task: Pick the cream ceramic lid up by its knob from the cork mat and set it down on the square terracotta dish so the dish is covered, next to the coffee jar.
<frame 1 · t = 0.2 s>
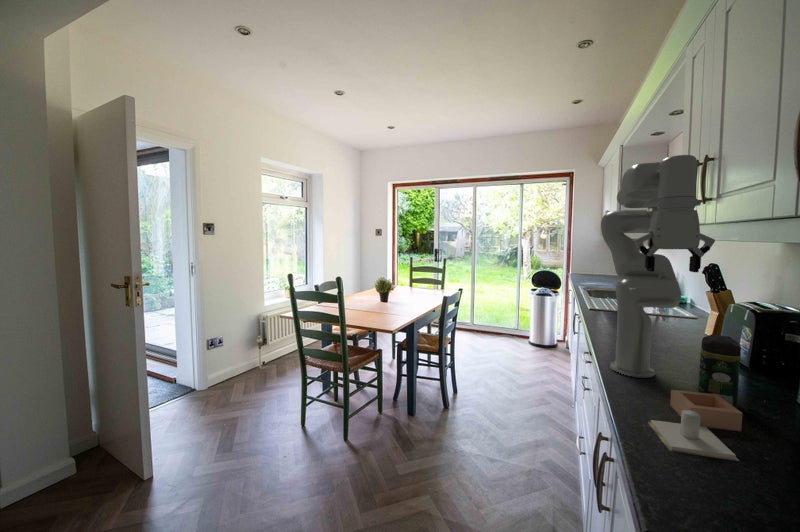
hand: (671, 271, 91), 36 cm above the worktop, tool pointing down, fingers open, 9 cm apart
coffee jar: (716, 404, 95), on the worktop
mat: (689, 442, 78), on the worktop
lid: (689, 439, 78), point 1 cm above the worktop, touching mat
dish: (702, 419, 87), on the worktop
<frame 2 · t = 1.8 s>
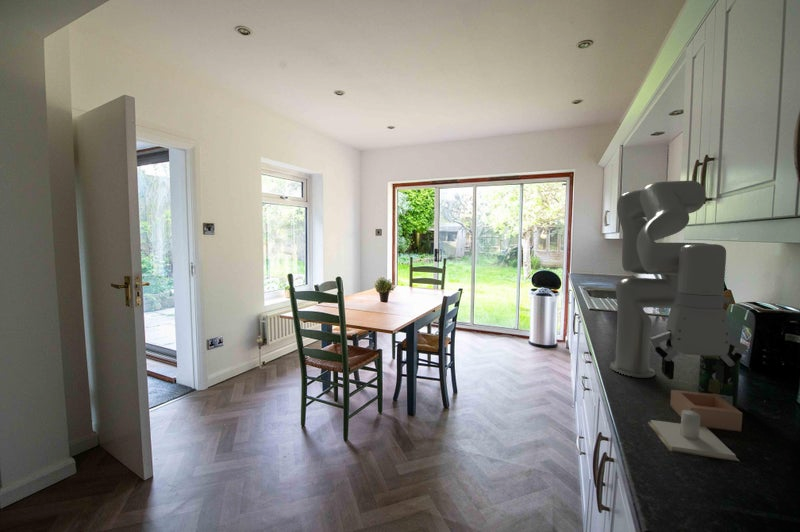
hand: (694, 379, 76), 15 cm above the worktop, tool pointing down, fingers open, 9 cm apart
nothing on the worktop moved.
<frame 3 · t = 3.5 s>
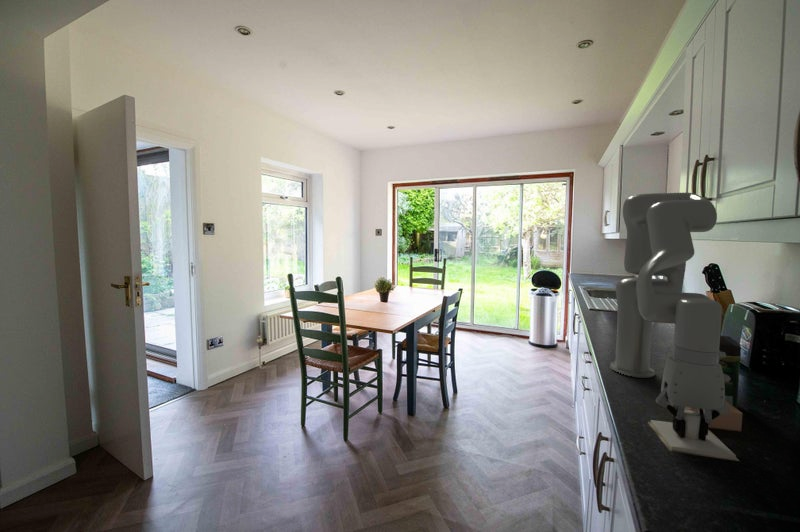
hand: (689, 435, 77), 2 cm above the worktop, tool pointing down, fingers closed on lid, 3 cm apart
lid: (689, 439, 78), point 1 cm above the worktop, touching gripper, mat
everything else where it was.
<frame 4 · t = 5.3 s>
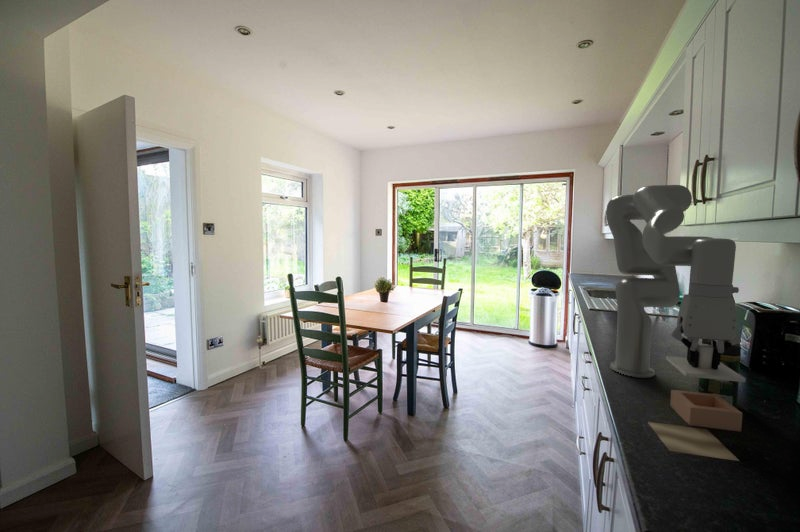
hand: (702, 365, 84), 15 cm above the worktop, tool pointing down, fingers closed on lid, 3 cm apart
lid: (702, 369, 84), point 14 cm above the worktop, touching gripper
everything else where it was.
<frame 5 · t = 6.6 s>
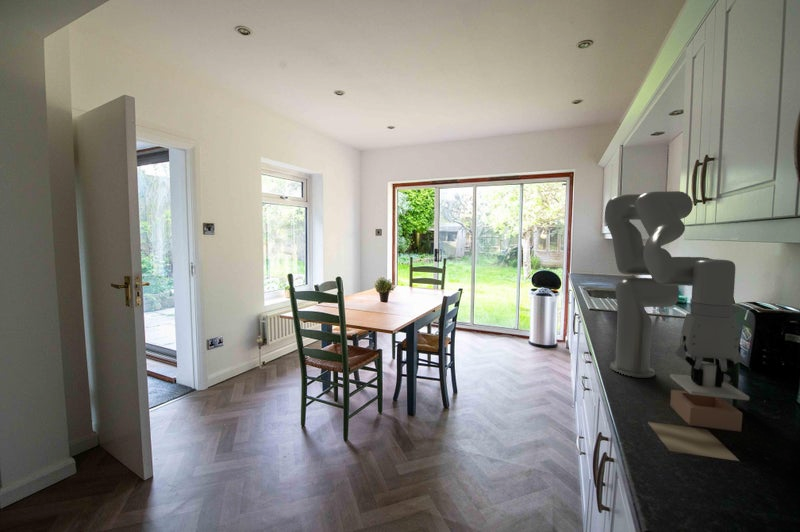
hand: (706, 383, 86), 9 cm above the worktop, tool pointing down, fingers closed on lid, 3 cm apart
lid: (706, 387, 86), point 8 cm above the worktop, touching gripper
everything else where it was.
when the fingers open (7 cm above the worktop, at t = 7.3 s): lid drops 1 cm, resting on dish.
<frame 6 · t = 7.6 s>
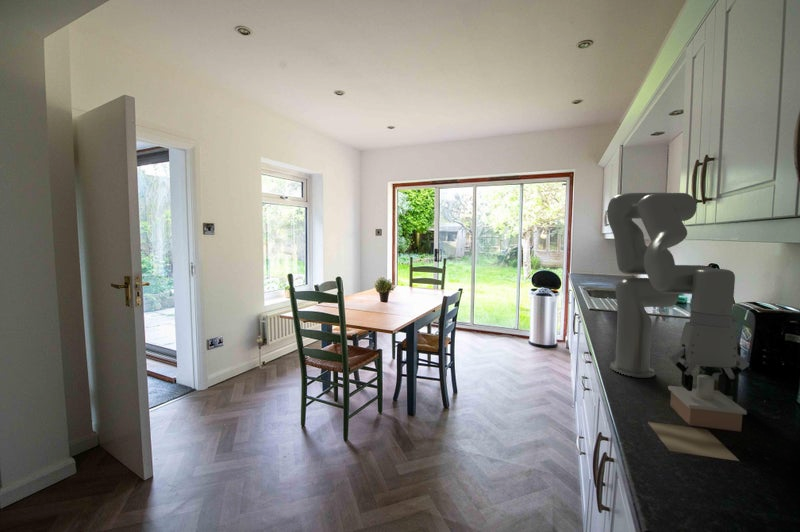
hand: (705, 390, 86), 8 cm above the worktop, tool pointing down, fingers open, 6 cm apart
lid: (704, 400, 86), point 5 cm above the worktop, touching dish
everything else where it was.
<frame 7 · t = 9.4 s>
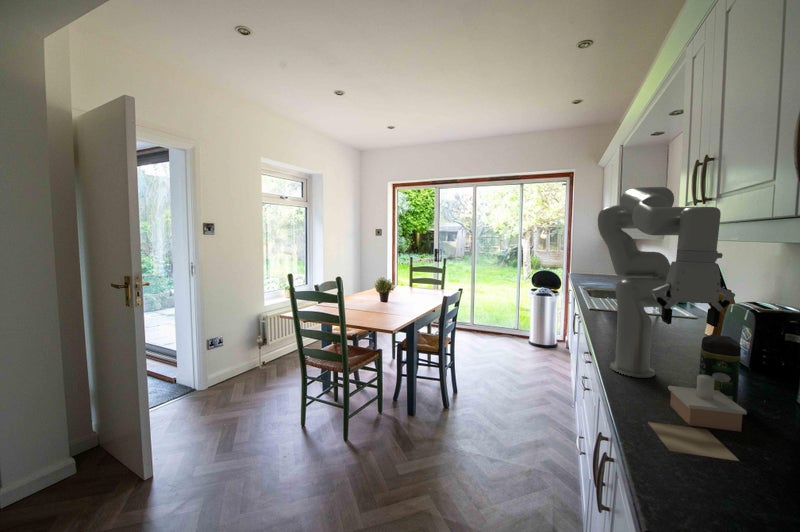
hand: (688, 324, 89), 23 cm above the worktop, tool pointing down, fingers open, 9 cm apart
nothing on the worktop moved.
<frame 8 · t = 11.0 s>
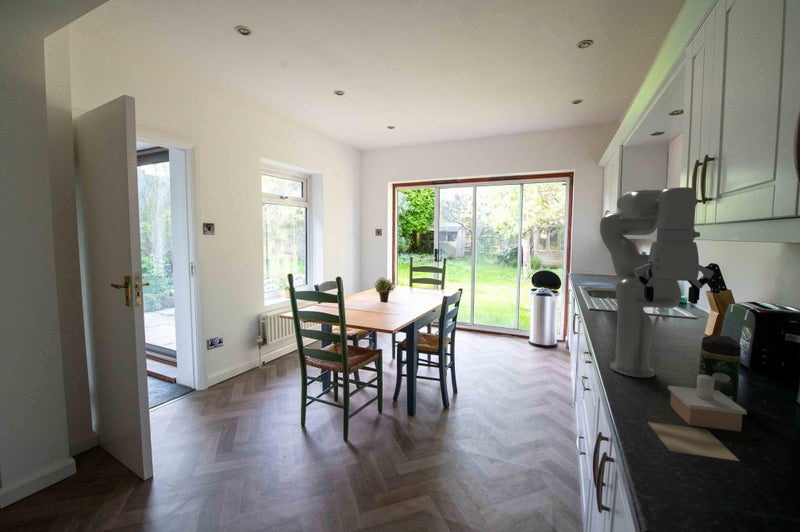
hand: (670, 302, 92), 28 cm above the worktop, tool pointing down, fingers open, 9 cm apart
nothing on the worktop moved.
at the end: lid 0.0 cm off-centre on the dish, point 5.0 cm above the dish's base; lid tilted 0°; the gripper is holding nothing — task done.
